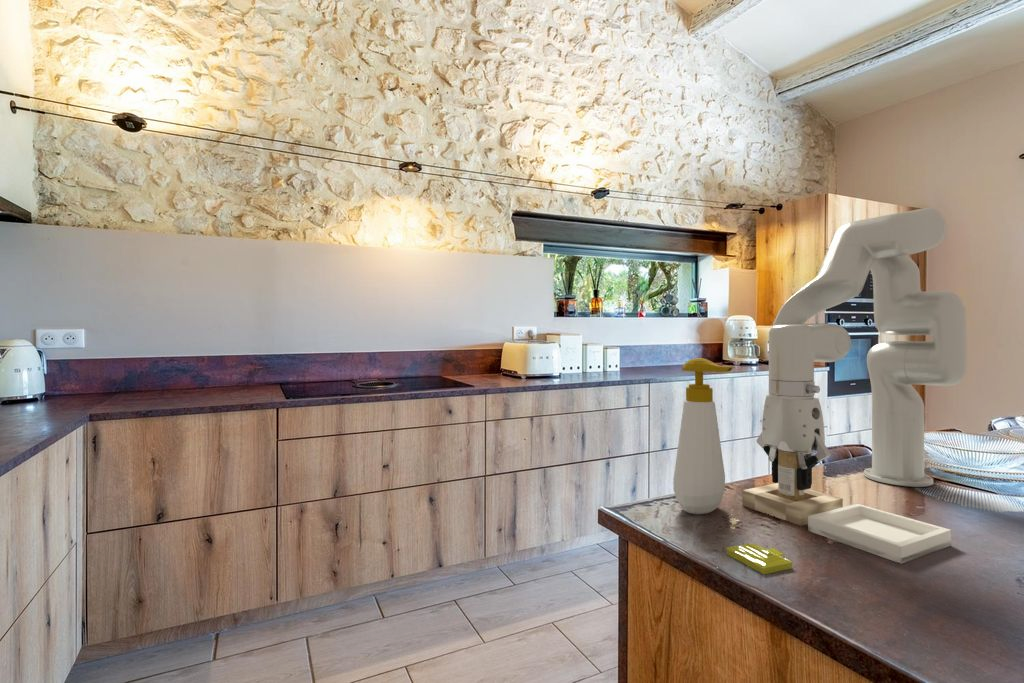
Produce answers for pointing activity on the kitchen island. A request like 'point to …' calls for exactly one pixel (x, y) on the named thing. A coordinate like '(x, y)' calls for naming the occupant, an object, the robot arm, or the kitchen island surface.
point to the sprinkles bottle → (788, 473)
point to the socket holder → (789, 503)
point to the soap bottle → (699, 445)
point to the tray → (880, 532)
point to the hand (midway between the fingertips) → (791, 484)
